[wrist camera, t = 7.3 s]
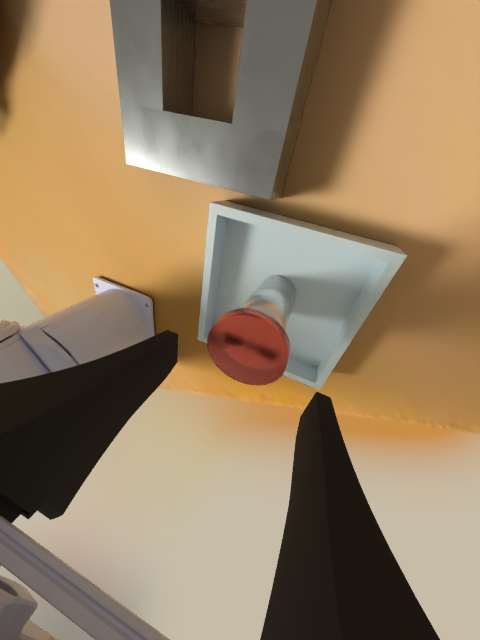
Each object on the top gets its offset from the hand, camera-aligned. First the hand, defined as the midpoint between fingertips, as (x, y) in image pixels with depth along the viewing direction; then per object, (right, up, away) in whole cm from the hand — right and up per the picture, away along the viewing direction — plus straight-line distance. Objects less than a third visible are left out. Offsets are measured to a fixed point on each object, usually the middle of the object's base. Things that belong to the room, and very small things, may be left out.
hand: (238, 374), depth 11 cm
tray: (+3, +5, +8) cm, 10 cm away
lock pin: (+3, +5, +7) cm, 9 cm away
